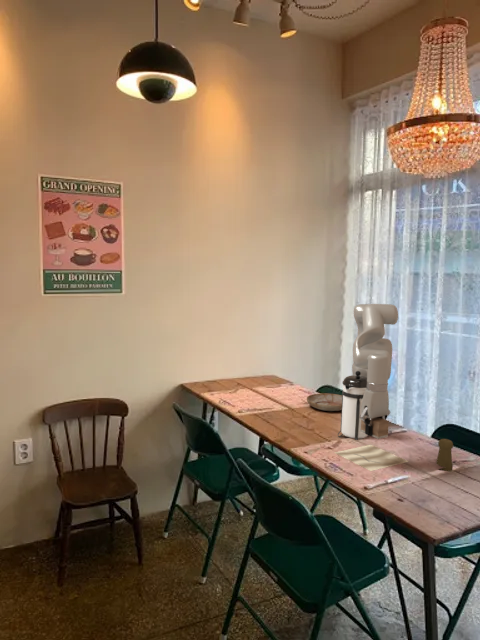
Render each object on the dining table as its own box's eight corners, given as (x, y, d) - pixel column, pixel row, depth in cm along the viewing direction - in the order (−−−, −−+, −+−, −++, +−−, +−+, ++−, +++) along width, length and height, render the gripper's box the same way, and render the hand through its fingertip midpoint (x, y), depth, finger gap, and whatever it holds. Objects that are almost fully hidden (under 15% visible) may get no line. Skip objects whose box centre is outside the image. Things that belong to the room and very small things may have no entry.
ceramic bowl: (297, 404, 270) (298, 395, 270) (333, 400, 281) (333, 391, 280) (322, 416, 250) (322, 406, 249) (359, 411, 260) (360, 402, 259)
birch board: (333, 456, 197) (333, 452, 197) (370, 448, 207) (370, 444, 207) (370, 475, 180) (370, 471, 180) (408, 465, 190) (409, 461, 190)
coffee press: (375, 445, 210) (379, 375, 207) (337, 441, 214) (340, 373, 210) (373, 432, 227) (376, 367, 224) (337, 429, 230) (340, 365, 227)
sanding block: (360, 431, 190) (361, 416, 190) (370, 429, 193) (371, 414, 192) (378, 439, 183) (379, 423, 182) (387, 436, 185) (388, 421, 185)
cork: (438, 463, 193) (440, 436, 191) (454, 467, 189) (456, 439, 188) (433, 468, 188) (435, 440, 187) (449, 472, 184) (451, 444, 183)
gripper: (385, 382, 193) (382, 427, 195) (352, 387, 184) (350, 434, 187) (400, 386, 187) (397, 433, 189) (367, 392, 178) (364, 440, 180)
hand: (374, 433), depth 188 cm, fingers closed on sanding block, 5 cm apart
